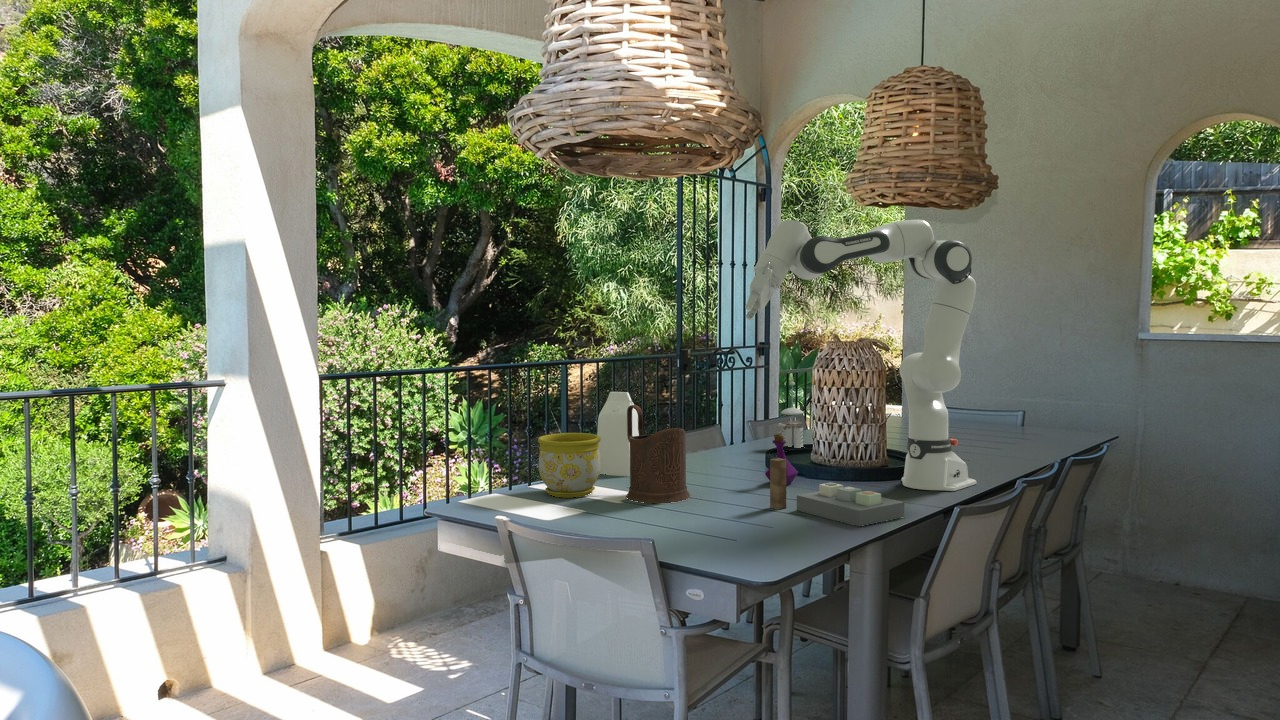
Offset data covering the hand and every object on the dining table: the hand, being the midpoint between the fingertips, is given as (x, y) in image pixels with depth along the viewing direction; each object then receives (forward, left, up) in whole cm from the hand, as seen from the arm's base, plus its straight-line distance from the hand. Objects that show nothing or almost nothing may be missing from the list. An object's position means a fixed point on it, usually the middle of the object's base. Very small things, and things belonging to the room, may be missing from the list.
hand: (748, 314), depth 255 cm
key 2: (-7, +38, -48) cm, 62 cm away
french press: (-64, -52, -52) cm, 98 cm away
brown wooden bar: (+3, +15, -51) cm, 54 cm away
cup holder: (+21, -18, -52) cm, 58 cm away
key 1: (-7, +25, -48) cm, 55 cm away
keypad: (-7, +31, -51) cm, 60 cm away
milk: (+10, -53, -52) cm, 75 cm away
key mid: (-7, +31, -48) cm, 58 cm away
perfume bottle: (-19, -8, -52) cm, 56 cm away
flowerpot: (+39, -34, -52) cm, 73 cm away
